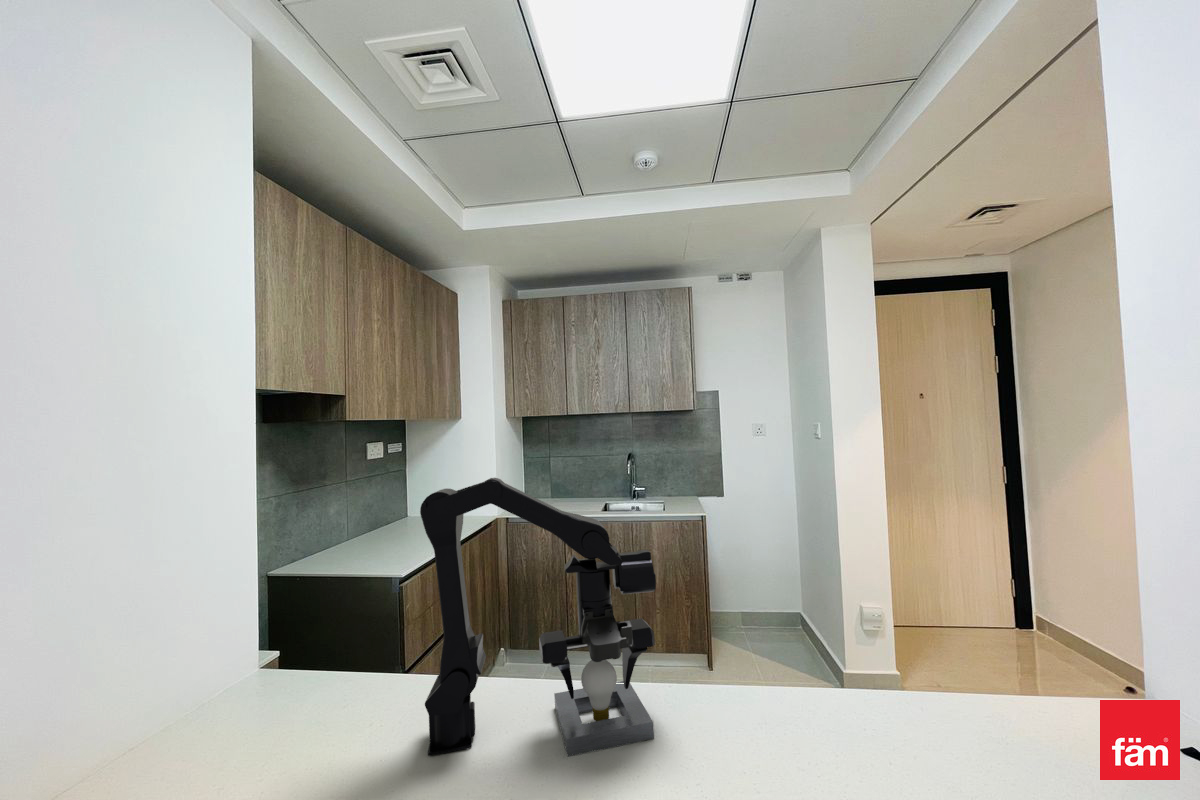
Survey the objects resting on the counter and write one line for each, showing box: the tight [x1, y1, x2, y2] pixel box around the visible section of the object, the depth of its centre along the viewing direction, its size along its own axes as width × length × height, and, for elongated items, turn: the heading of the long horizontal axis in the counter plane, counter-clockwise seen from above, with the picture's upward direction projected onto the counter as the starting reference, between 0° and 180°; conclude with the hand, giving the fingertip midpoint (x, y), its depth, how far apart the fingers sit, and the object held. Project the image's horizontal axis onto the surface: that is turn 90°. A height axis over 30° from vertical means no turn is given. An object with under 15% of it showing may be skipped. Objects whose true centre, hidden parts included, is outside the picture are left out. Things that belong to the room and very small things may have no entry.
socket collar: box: [554, 680, 655, 757], centre depth 80 cm, size 14×14×2 cm
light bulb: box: [580, 659, 618, 722], centre depth 80 cm, size 6×6×10 cm
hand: (599, 692), depth 80 cm, fingers open, 9 cm apart
